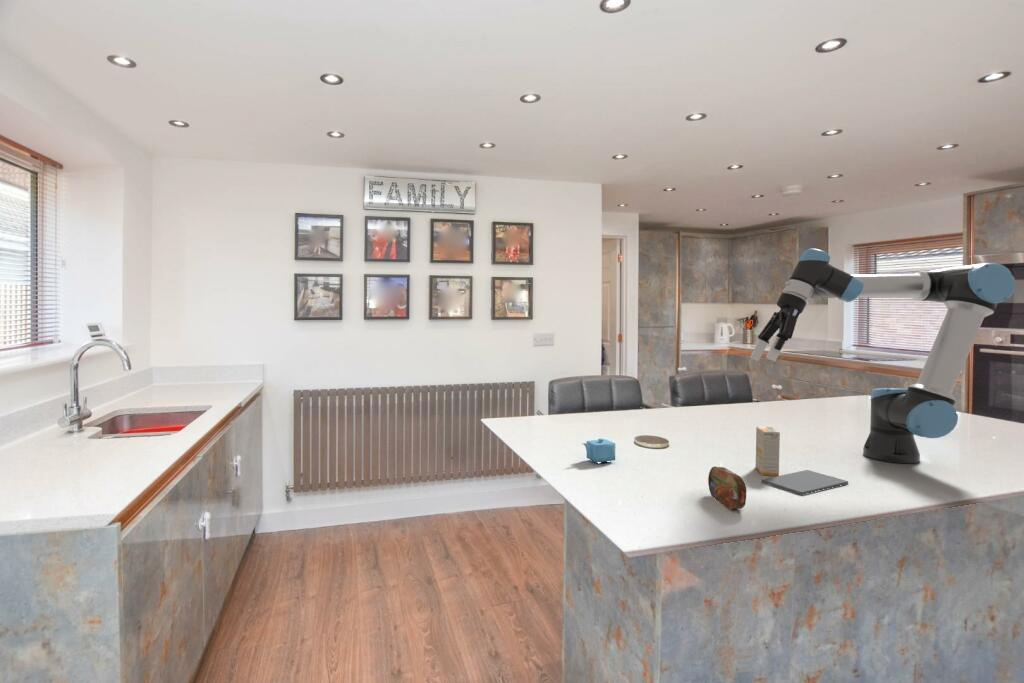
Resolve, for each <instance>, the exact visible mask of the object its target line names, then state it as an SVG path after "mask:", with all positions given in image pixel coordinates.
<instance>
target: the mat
mask: <svg viewBox="0 0 1024 683" xmlns="http://www.w3.org/2000/svg"><path fill="white" fill-rule="evenodd" d="M761 483H764V484H766V485H769V486H772V487H775V488H778V489H781V488H782V489H781V490H785V491H787V490H788V491H787V492H790V491H791V492H790V493H793V492H794V494H796V493H798V494H797V495H799V494H801V495H800V496H804V495H803V494H806V493H810V494H812V493H811V492H814V493H816V492H815V491H818V490H822V491H824V490H823V489H826V490H828V489H827V488H830V489H833V488H832V487H834V488H837V487H836V486H838V487H841V486H840V485H842V486H845V485H844V484H846V485H849V481H848V480H845V479H842V478H837V477H835V476H831V475H827V474H823V473H820V472H816V471H813V470H810V469H805V470H801V471H795V472H790V473H786V474H781V475H779V476H771V477H767V478H763V479H761ZM818 492H819V491H818ZM806 495H807V494H806Z"/></svg>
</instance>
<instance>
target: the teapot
mask: <svg viewBox="0 0 1024 683" xmlns="http://www.w3.org/2000/svg"><path fill="white" fill-rule="evenodd" d="M581 445H584V447H585V450H586V458H587V459H589V460H590V461H591V460H592V461H591V462H594V463H597V462H601V463H602V462H603V463H604V462H606V461H610V462H612V461H616V443H615V442H613V441H611V440H609V439H605V438H598V439H594V440H587V441H586V442H582V443H581Z"/></svg>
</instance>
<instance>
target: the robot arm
mask: <svg viewBox="0 0 1024 683" xmlns="http://www.w3.org/2000/svg"><path fill="white" fill-rule="evenodd" d="M830 260H831V255H830V254H828V253H827V252H826V251H824V250H822V249H818V248H808V249H805V251H803V253H802V254H801V256H800V257H799V259H798V261H797V263H796V266H794V270H793V271H792V274H791V276H790V277H789V279H788V281H785V283H784V285H785V287H784V289H783V291H782V292H783V293H781V294H780V296H779V297H778V299H777V301H776V305H777V307H779V308H780V310H779V311H774V312H773V314H772V315H771V317H770V319H769V320H768V321H767V323H766V325H765V326H764V327H763V329H762V330H761V332H760V333H759V335H758V336H757V338H758V341H757V343H756V345H755V347H754V349H753V350H752V353H751V354H750V356H749V358H750V359H752V360H753V361H757V362H760V359H761V357H762V355H763V354H764V352H765V349H766V348H767V346H768V345H769V344H770V339H771V338H772V337H773V336H774V335H775V334H776V333H777V331H778V333H777V334H776V335H775V339H774V341H773V343H772V345H771V346H770V348H769V350H768V352H767V354H766V356H765V358H767V359H768V360H771V361H773V362H774V363H775V362H776V361H777V360H778V357H779V356H780V353H781V351H782V350H783V348H784V345H785V344H786V342H787V341H789V340H791V339H792V338H793V334H794V331H795V328H796V325H797V320H798V318H799V316H800V314H802V313H803V312H804V310H805V308H806V306H807V302H809V301H810V299H832V298H833V299H838V300H840V301H841V300H842V301H844V302H845V303H846V302H847V303H850V302H851V303H852V302H853V301H855V300H857V299H860V298H863V299H865V298H866V299H869V298H871V299H872V298H875V299H876V298H877V299H878V298H879V299H880V298H882V299H883V298H884V299H885V298H888V299H889V298H892V299H893V298H894V299H895V298H897V299H898V298H900V299H902V298H903V299H904V298H906V299H909V298H910V299H913V300H914V301H916V302H925V301H926V302H935V303H943V304H944V306H946V309H947V310H946V313H945V316H944V318H943V321H942V323H941V326H940V328H939V330H938V332H937V335H936V337H935V340H934V341H933V345H932V347H931V349H930V351H929V354H928V355H927V359H926V360H925V362H924V365H923V368H922V370H921V372H920V374H919V377H918V380H917V381H916V382H915V383H913V384H910V385H908V388H879V387H878V388H874V389H872V390H871V396H870V421H869V422H870V424H869V426H870V427H869V428H870V430H869V434H868V436H867V438H866V441H865V443H864V446H863V448H862V449H863V450H862V454H863V455H864V456H865V457H868V458H870V459H874V460H877V461H883V462H888V463H896V464H897V463H898V464H916V463H919V462H920V461H921V459H920V458H921V454H920V453H921V452H920V450H919V448H918V445H917V441H916V439H915V436H918V437H922V438H926V439H927V438H928V439H937V438H938V439H939V438H942V437H945V436H947V435H949V434H950V433H951V432H952V431H953V430H955V428H956V426H957V425H958V420H959V416H958V415H959V414H958V413H957V410H956V408H955V407H954V405H955V403H956V398H955V396H954V394H953V392H954V389H955V387H956V384H957V382H958V380H959V377H960V375H961V372H962V370H963V368H964V366H965V364H966V361H967V359H968V356H969V354H970V351H971V349H972V347H973V344H974V343H975V340H976V338H977V335H978V332H979V331H980V328H981V326H982V323H983V321H984V319H985V318H987V317H989V316H991V315H993V314H994V313H995V311H996V308H997V306H998V304H1000V303H1003V302H1005V301H1006V300H1007V301H1008V300H1009V299H1011V297H1012V295H1014V293H1015V289H1016V280H1015V276H1013V275H1012V271H1010V269H1009V268H1007V267H1006V266H1005V265H1003V264H1000V263H995V262H978V263H975V264H969V265H959V266H958V265H957V266H951V267H950V266H949V267H945V268H940V269H934V270H919V271H916V272H914V274H913V273H911V274H910V273H909V274H907V273H906V274H905V273H904V274H901V273H900V274H898V273H897V274H893V273H892V274H891V273H890V274H850V273H848V272H846V271H843V270H841V269H840V268H838V267H835V266H833V265H832V264H831V263H830Z"/></svg>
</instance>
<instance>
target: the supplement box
mask: <svg viewBox="0 0 1024 683" xmlns="http://www.w3.org/2000/svg"><path fill="white" fill-rule="evenodd" d="M755 430H756V431H755V433H756V434H755V468H756V469H757V470H758V471H759V473H760V474H761V475H763V476H771V477H776V476H780V438H781V436H780V435H781V434H780V433H781V432H780V431H778V430H777V429H775V428H774V427H773V426H756V428H755Z"/></svg>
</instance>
